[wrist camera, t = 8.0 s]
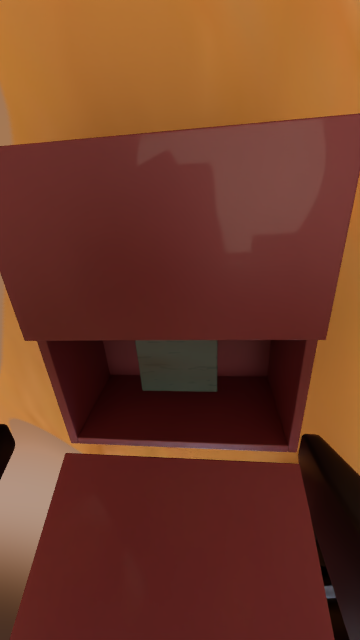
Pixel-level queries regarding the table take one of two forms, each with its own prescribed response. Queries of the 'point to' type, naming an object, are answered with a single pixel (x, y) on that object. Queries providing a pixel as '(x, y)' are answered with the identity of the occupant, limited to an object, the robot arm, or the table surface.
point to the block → (178, 365)
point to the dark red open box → (180, 272)
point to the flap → (175, 554)
